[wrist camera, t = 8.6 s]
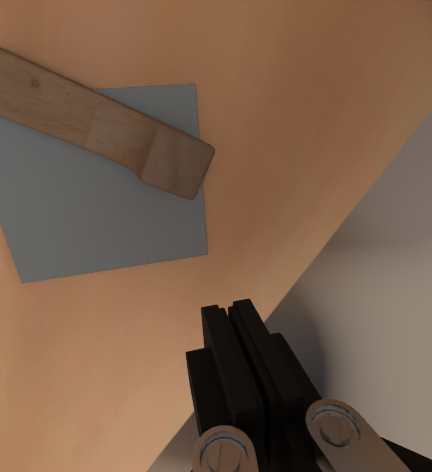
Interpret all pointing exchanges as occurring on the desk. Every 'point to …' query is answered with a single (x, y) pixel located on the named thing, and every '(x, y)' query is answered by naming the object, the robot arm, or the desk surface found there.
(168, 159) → the wooden block
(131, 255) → the mat
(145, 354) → the desk surface
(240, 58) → the desk surface
